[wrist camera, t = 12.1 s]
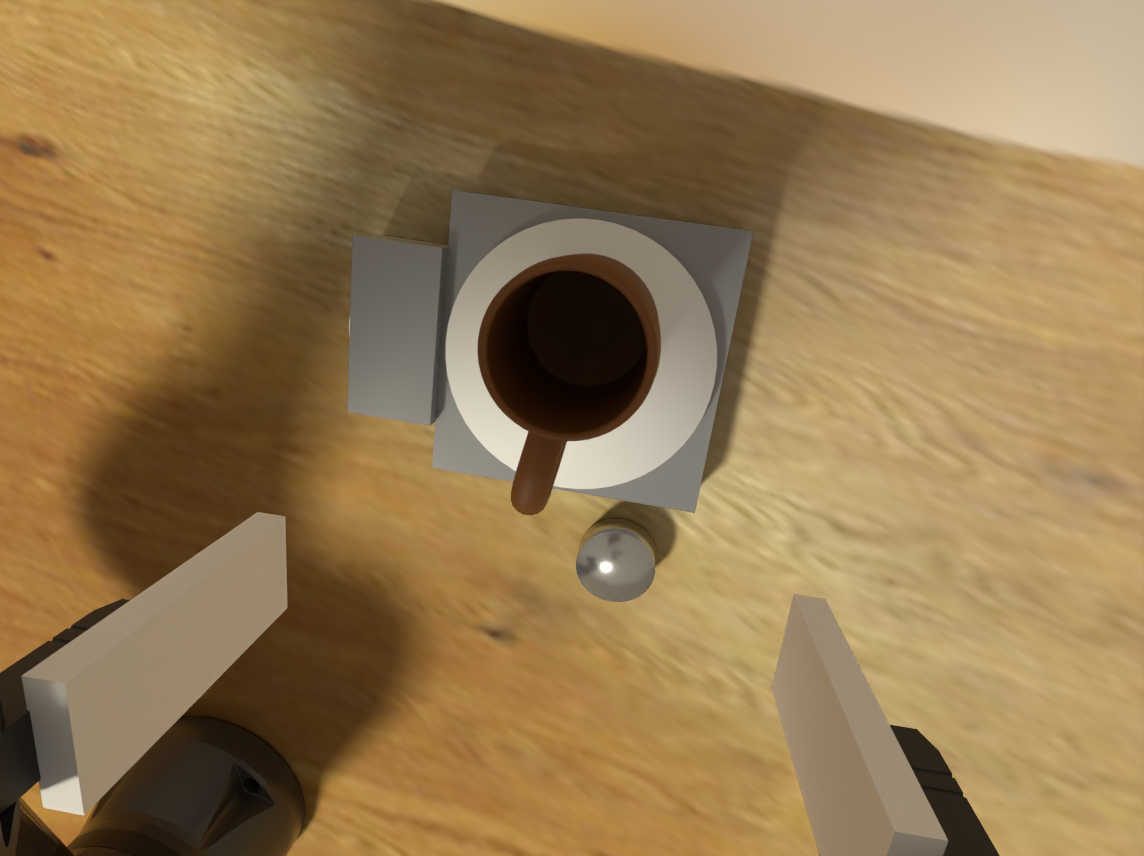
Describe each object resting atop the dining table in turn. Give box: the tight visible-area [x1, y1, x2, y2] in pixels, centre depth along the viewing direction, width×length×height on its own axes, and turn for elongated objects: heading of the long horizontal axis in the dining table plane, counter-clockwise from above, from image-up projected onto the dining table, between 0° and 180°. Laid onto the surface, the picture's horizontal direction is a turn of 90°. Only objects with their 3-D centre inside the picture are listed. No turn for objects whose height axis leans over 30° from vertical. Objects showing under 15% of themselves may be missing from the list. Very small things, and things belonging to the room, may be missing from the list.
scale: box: [347, 190, 754, 513], centre depth 37 cm, size 21×16×4 cm
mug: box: [477, 253, 661, 515], centre depth 31 cm, size 12×8×9 cm, turn 165°
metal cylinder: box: [576, 518, 655, 602], centre depth 41 cm, size 5×5×2 cm
